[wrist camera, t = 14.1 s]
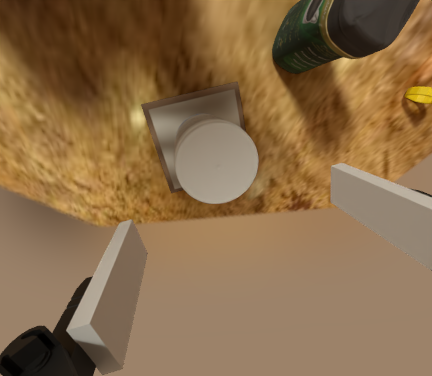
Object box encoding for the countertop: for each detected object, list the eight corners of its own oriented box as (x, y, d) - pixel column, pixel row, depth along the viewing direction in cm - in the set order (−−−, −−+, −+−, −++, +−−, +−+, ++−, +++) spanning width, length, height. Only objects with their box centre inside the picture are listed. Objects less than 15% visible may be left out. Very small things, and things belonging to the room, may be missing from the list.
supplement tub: (167, 157, 36) (159, 190, 23) (187, 102, 33) (191, 103, 20) (218, 176, 39) (237, 215, 25) (240, 127, 36) (275, 142, 23)
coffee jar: (299, 81, 39) (393, 65, 22) (263, 58, 36) (336, 21, 19) (329, 23, 36) (464, -47, 19) (292, -5, 33) (408, -113, 16)
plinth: (144, 104, 36) (139, 104, 32) (233, 82, 37) (239, 80, 33) (171, 187, 42) (171, 195, 39) (247, 167, 43) (253, 173, 40)
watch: (423, 93, 44) (459, 93, 38) (415, 107, 44) (449, 108, 39) (404, 83, 42) (439, 81, 36) (396, 98, 43) (429, 98, 37)
